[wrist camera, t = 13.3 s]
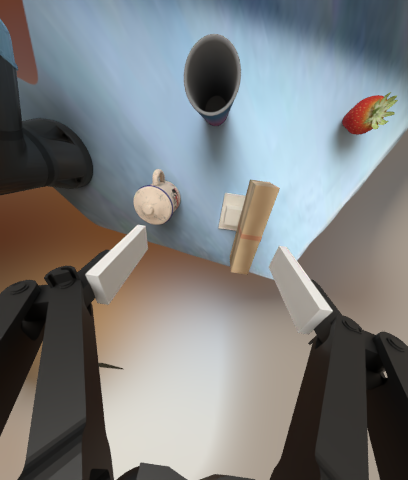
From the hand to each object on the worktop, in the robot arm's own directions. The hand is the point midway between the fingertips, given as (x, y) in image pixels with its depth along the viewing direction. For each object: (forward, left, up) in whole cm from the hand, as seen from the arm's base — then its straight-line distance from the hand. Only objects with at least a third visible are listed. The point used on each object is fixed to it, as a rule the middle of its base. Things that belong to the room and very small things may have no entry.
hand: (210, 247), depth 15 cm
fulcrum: (+8, -5, -27) cm, 29 cm away
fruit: (+23, +16, -28) cm, 40 cm away
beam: (+8, -6, -20) cm, 23 cm away
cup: (-3, +15, -28) cm, 32 cm away
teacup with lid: (-14, -3, -28) cm, 31 cm away
